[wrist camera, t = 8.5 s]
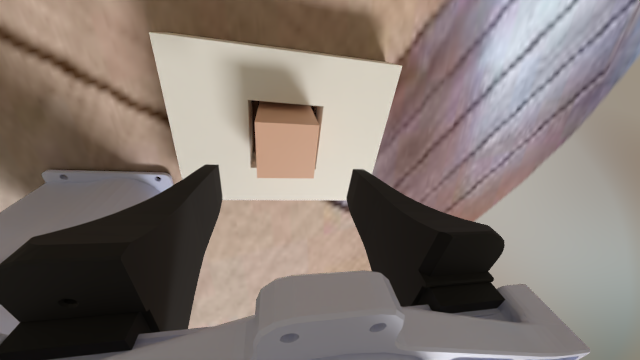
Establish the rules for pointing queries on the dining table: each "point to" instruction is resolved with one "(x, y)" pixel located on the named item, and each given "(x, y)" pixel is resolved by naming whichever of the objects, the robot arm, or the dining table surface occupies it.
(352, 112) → the jig block
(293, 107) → the tan rectangular block
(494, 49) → the dining table surface
